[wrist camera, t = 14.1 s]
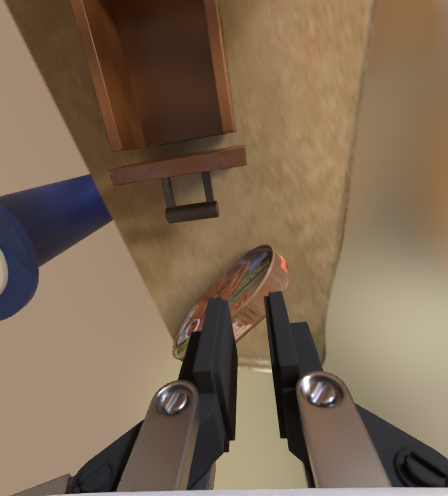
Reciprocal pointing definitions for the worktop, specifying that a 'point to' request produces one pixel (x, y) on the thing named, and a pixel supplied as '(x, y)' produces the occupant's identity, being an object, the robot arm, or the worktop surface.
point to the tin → (239, 294)
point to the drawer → (161, 87)
